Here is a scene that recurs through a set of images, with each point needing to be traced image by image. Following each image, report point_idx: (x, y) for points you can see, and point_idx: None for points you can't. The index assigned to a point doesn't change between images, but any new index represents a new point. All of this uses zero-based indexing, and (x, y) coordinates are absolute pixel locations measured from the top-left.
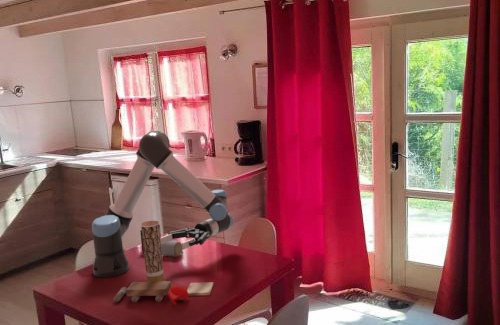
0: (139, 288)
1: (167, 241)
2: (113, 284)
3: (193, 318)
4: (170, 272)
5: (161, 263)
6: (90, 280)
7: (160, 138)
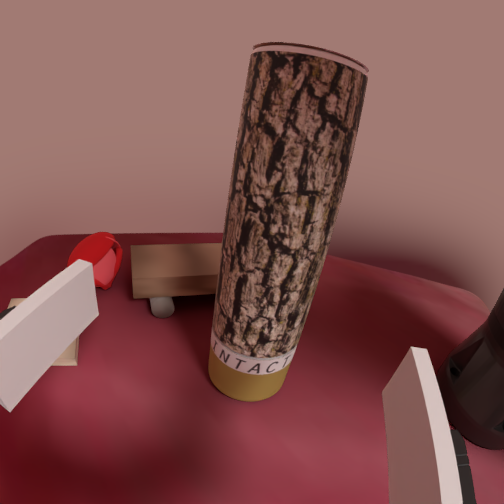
0: (217, 247)
1: (390, 463)
2: (382, 338)
3: (56, 238)
4: (252, 487)
5: (215, 298)
6: (454, 339)
7: None
